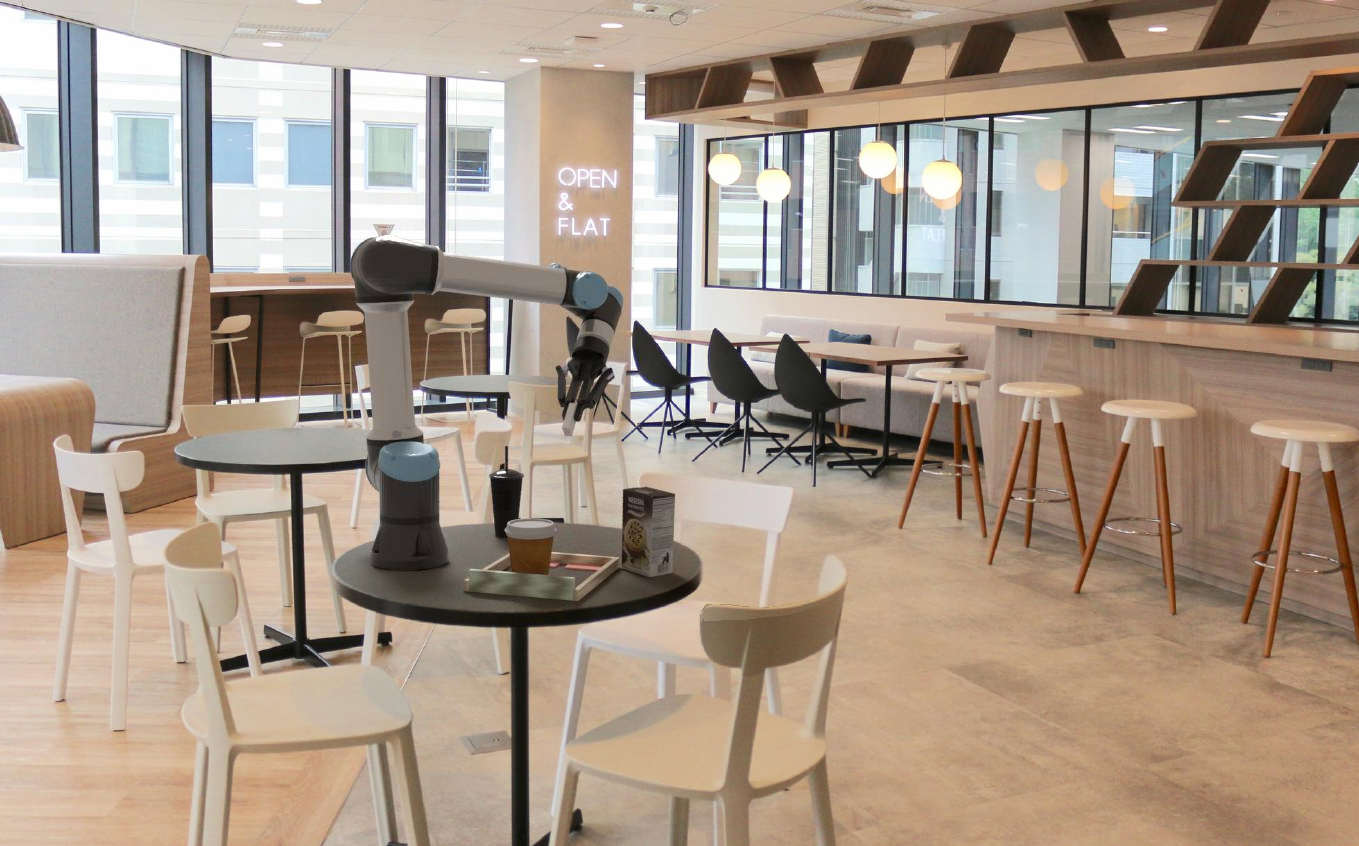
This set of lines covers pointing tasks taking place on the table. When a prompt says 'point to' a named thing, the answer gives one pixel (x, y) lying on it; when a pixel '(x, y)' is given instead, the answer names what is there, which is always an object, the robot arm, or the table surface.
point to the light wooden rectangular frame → (540, 578)
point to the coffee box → (648, 531)
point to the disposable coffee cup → (530, 545)
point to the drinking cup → (505, 496)
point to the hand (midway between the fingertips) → (566, 431)
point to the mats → (577, 566)
